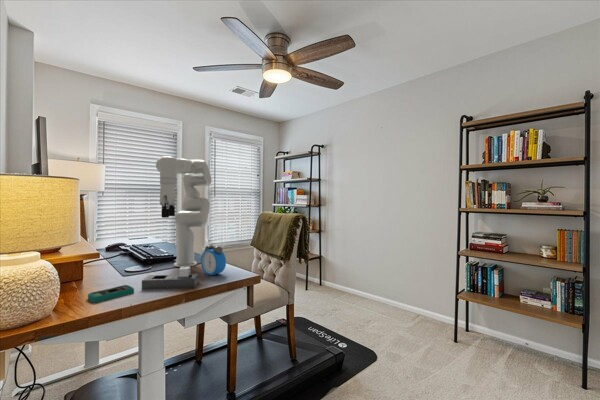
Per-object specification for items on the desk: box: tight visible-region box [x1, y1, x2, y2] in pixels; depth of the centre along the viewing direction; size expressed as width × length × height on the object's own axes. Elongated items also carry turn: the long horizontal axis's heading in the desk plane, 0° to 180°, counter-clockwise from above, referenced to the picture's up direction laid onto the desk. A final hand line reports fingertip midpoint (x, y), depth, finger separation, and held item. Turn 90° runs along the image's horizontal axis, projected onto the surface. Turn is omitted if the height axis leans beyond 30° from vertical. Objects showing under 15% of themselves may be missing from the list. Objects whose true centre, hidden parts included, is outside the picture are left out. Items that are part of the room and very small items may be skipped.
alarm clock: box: [200, 244, 227, 277], centre depth 149 cm, size 13×6×15 cm, turn 56°
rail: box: [141, 273, 199, 290], centre depth 130 cm, size 8×22×4 cm, turn 98°
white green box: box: [178, 266, 192, 278], centre depth 131 cm, size 4×4×7 cm
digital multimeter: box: [87, 284, 135, 304], centre depth 117 cm, size 7×15×3 cm, turn 145°
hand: (168, 216), depth 142 cm, fingers open, 9 cm apart
